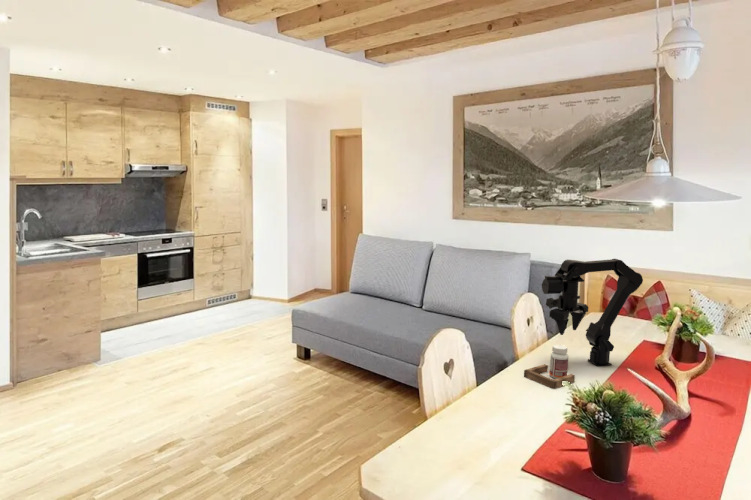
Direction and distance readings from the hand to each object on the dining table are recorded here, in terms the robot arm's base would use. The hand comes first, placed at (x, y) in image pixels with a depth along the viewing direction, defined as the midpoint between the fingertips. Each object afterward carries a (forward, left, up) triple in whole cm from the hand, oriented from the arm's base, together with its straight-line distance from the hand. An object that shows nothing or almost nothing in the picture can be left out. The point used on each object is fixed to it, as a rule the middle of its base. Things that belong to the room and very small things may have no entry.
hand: (568, 332), depth 202 cm
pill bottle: (+10, +11, -13) cm, 20 cm away
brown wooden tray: (+15, +12, -13) cm, 23 cm away
